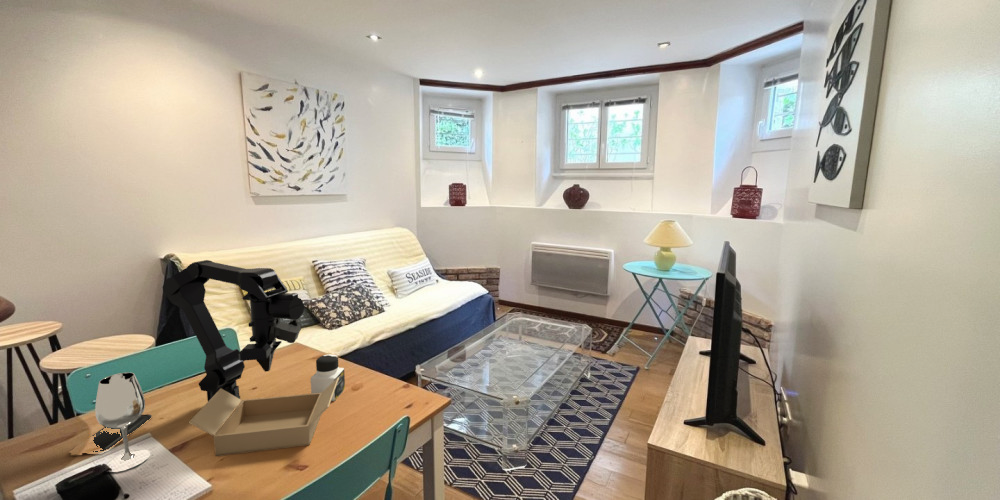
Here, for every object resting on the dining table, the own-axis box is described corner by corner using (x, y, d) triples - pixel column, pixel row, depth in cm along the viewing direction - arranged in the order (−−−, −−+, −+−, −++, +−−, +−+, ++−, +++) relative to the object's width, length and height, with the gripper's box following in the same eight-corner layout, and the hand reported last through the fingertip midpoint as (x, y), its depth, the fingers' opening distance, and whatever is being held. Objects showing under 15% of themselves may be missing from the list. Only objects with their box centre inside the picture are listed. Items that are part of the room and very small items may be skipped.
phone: (153, 414, 104) (104, 450, 89) (154, 418, 104) (104, 455, 89) (121, 415, 103) (65, 453, 88) (121, 419, 103) (66, 457, 88)
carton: (215, 456, 89) (213, 436, 89) (243, 417, 105) (242, 399, 104) (309, 444, 94) (308, 425, 93) (323, 408, 109) (322, 392, 109)
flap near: (214, 434, 89) (213, 435, 89) (241, 400, 103) (240, 401, 103) (189, 421, 87) (188, 422, 87) (220, 388, 102) (219, 389, 102)
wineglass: (110, 479, 82) (97, 390, 79) (98, 465, 86) (86, 380, 83) (157, 458, 88) (147, 375, 85) (144, 445, 92) (134, 366, 89)
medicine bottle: (335, 401, 113) (333, 362, 112) (311, 400, 114) (309, 361, 112) (345, 389, 120) (343, 352, 119) (322, 388, 121) (320, 351, 119)
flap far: (322, 392, 108) (323, 393, 108) (309, 424, 94) (310, 425, 94) (338, 377, 109) (339, 377, 109) (327, 406, 94) (328, 407, 94)
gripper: (285, 326, 96) (289, 385, 99) (305, 304, 114) (308, 354, 117) (235, 328, 94) (240, 388, 96) (263, 306, 112) (267, 357, 114)
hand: (267, 370), depth 106 cm, fingers closed
